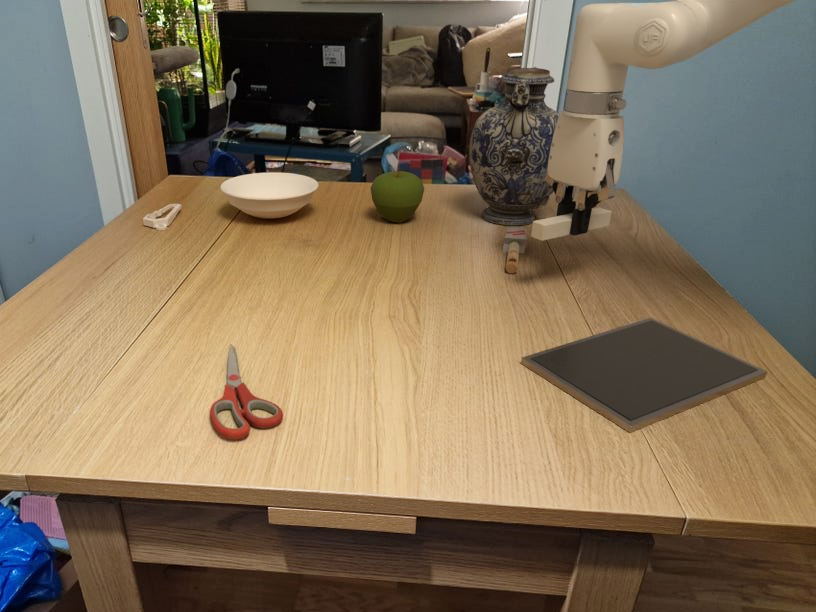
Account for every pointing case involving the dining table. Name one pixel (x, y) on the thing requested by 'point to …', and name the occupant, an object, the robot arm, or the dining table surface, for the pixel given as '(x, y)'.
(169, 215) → the stepped key frame
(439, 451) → the dining table surface
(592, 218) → the beige rectangular block
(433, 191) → the dining table surface
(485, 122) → the decorative vase
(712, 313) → the dining table surface
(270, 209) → the bowl
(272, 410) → the scissors
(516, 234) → the paintbrush
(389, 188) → the apple
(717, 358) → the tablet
